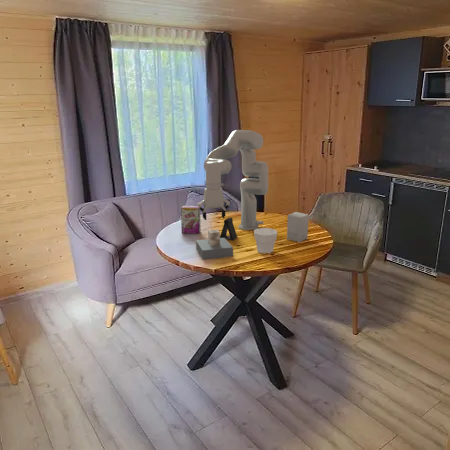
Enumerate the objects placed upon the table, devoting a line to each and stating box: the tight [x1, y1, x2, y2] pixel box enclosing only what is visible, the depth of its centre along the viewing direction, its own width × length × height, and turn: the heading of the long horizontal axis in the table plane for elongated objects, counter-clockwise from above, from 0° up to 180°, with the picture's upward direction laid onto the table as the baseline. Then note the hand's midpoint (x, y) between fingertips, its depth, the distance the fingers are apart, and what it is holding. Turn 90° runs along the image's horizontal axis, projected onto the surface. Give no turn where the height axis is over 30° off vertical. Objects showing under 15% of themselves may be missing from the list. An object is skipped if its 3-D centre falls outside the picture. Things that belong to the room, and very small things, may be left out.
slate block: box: [195, 238, 234, 260], centre depth 216 cm, size 16×16×5 cm
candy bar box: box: [180, 205, 201, 235], centre depth 247 cm, size 11×5×16 cm, turn 84°
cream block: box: [207, 229, 221, 246], centre depth 215 cm, size 5×5×7 cm
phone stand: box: [220, 216, 238, 241], centre depth 238 cm, size 9×6×12 cm, turn 66°
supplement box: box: [286, 211, 310, 243], centre depth 236 cm, size 9×9×15 cm
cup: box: [253, 227, 278, 255], centre depth 218 cm, size 12×12×11 cm
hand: (214, 218), depth 212 cm, fingers open, 9 cm apart
